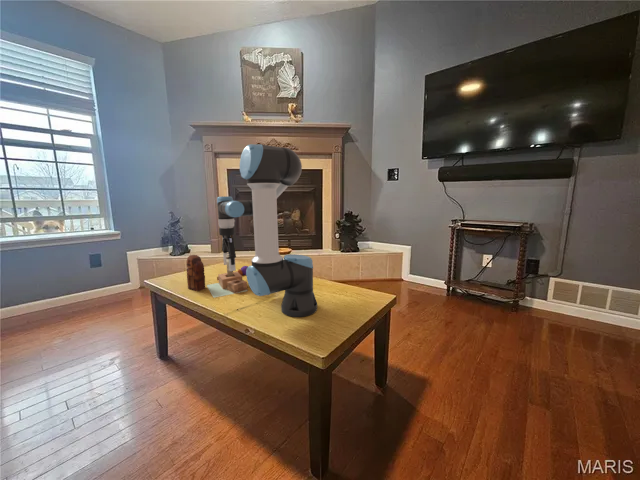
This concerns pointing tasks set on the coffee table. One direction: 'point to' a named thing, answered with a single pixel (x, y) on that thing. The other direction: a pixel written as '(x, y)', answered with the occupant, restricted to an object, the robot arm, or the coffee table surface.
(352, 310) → the coffee table surface
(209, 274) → the coffee table surface
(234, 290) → the brown holed brick
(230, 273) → the grey banded cylinder
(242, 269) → the kendama
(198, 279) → the wooden figurine
